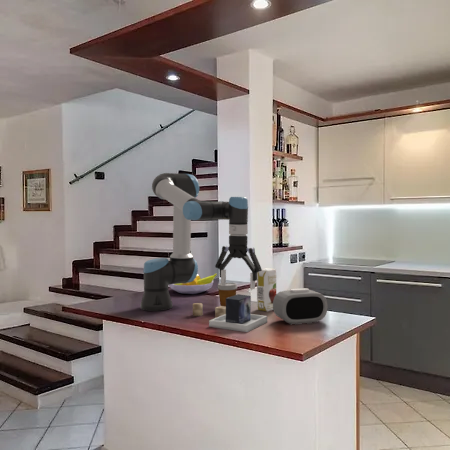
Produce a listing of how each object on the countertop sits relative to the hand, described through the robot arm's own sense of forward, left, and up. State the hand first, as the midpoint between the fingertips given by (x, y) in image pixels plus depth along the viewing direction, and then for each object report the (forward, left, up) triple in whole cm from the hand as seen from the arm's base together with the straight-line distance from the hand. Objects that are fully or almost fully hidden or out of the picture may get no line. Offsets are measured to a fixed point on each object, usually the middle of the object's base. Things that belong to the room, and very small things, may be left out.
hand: (237, 287), depth 179 cm
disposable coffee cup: (-18, +21, -15) cm, 32 cm away
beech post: (-24, +5, -15) cm, 28 cm away
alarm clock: (+20, +16, -15) cm, 30 cm away
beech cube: (-12, +7, -15) cm, 20 cm away
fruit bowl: (-59, +52, -15) cm, 80 cm away
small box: (0, 0, -14) cm, 14 cm away
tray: (0, 0, -15) cm, 15 cm away
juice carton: (-2, +30, -15) cm, 34 cm away
